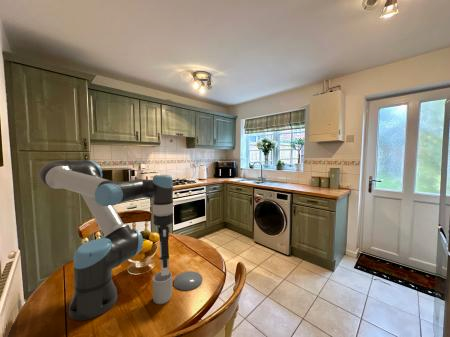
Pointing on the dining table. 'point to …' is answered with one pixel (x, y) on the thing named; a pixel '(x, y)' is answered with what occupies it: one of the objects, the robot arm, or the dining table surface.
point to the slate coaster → (187, 280)
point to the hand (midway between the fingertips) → (164, 265)
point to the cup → (162, 288)
